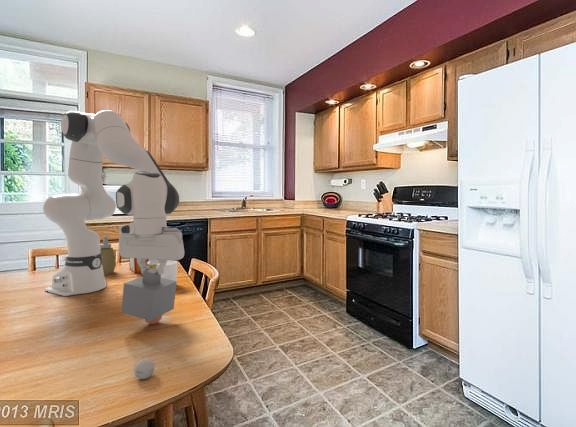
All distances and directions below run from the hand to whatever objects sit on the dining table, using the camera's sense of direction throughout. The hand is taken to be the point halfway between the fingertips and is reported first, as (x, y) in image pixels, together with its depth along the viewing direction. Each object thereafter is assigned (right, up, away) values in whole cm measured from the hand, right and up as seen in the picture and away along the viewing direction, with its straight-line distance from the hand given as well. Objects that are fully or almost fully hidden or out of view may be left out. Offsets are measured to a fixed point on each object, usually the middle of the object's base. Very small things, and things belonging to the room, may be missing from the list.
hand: (152, 273), depth 92 cm
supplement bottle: (-22, -12, +53) cm, 59 cm away
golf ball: (+9, -18, -25) cm, 32 cm away
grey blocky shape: (-2, -11, +1) cm, 11 cm away
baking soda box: (-35, -11, +64) cm, 74 cm away
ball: (-1, -13, +2) cm, 13 cm away
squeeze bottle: (-48, -12, +60) cm, 78 cm away
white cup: (-10, -13, +39) cm, 43 cm away
